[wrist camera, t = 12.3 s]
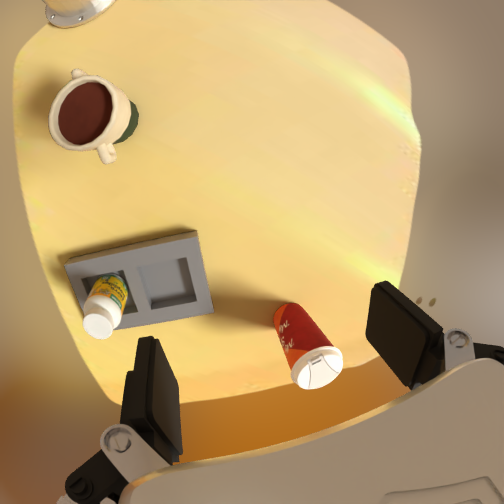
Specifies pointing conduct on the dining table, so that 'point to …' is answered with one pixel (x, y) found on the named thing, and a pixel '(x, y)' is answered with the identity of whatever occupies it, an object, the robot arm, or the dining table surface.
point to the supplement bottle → (105, 305)
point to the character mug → (91, 116)
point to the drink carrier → (149, 278)
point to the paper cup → (306, 348)
